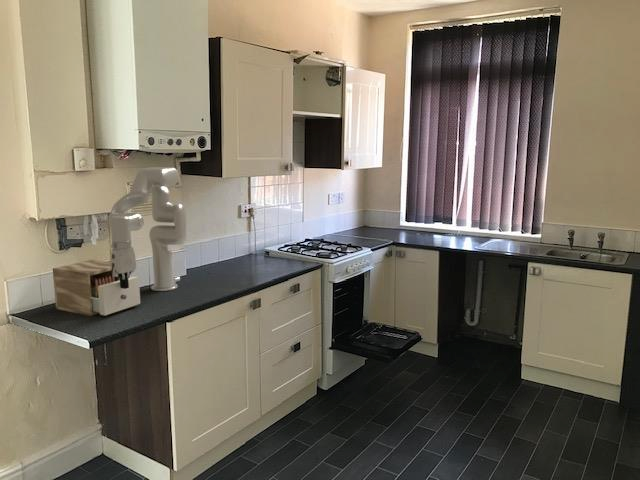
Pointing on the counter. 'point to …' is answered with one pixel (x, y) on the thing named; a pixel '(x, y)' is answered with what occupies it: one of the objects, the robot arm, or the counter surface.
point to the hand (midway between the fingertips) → (124, 287)
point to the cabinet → (79, 285)
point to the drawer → (115, 296)
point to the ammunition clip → (102, 284)
